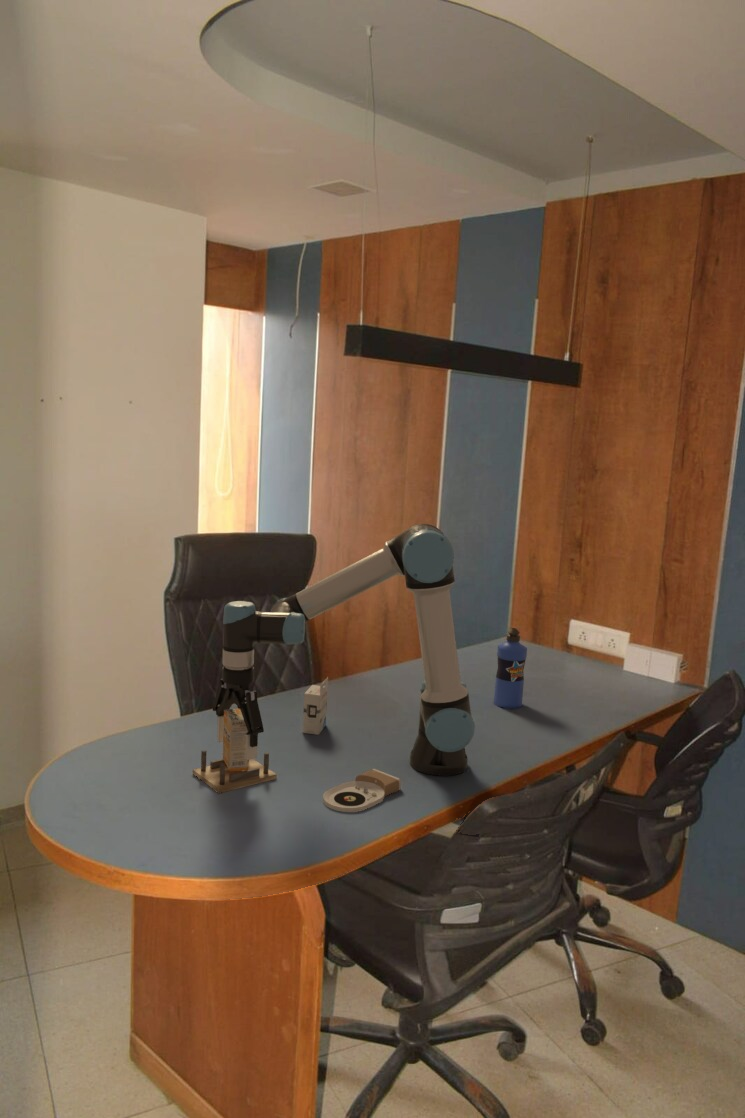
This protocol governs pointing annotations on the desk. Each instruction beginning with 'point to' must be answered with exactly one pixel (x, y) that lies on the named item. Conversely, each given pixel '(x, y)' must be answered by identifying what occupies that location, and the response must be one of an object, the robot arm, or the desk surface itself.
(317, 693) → the ink box
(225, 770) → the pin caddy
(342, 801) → the record player
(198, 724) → the desk surface
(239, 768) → the supplement box
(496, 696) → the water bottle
